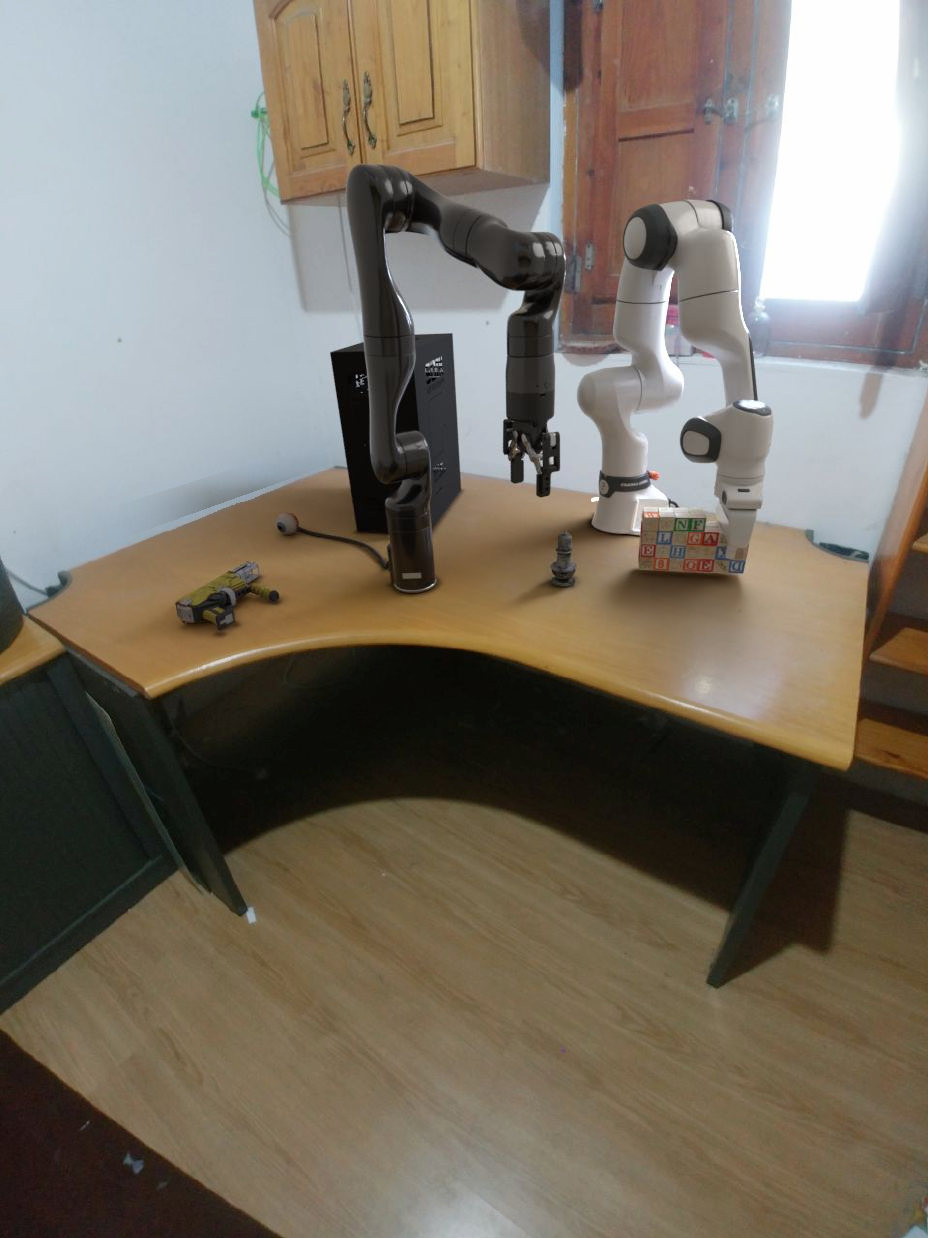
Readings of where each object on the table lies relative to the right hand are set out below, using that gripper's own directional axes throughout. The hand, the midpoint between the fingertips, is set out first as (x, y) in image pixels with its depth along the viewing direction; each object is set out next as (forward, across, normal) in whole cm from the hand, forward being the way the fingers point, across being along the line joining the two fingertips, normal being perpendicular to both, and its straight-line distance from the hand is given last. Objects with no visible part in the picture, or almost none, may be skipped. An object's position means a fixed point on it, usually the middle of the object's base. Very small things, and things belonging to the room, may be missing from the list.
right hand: (726, 550), depth 128 cm
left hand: (-22, +29, -38) cm, 53 cm away
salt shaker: (+6, +7, -34) cm, 35 cm away
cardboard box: (+6, -35, -81) cm, 88 cm away
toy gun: (+6, +25, -101) cm, 104 cm away
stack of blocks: (+4, 0, -7) cm, 8 cm away
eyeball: (+6, -13, -110) cm, 110 cm away
